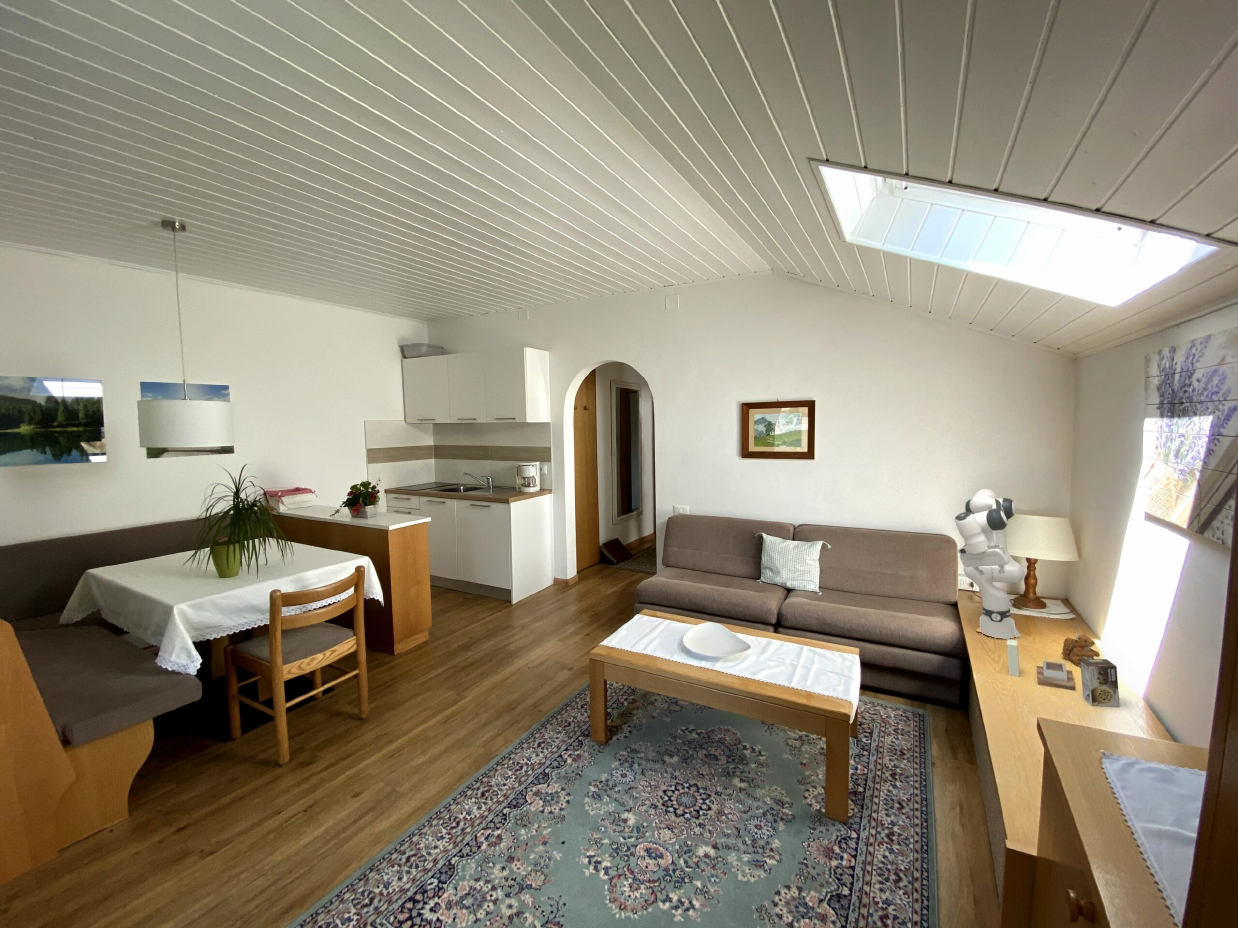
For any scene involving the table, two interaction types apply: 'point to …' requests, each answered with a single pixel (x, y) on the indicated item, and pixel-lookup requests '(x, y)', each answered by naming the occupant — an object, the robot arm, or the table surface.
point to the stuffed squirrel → (1079, 649)
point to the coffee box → (1099, 682)
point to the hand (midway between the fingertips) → (992, 574)
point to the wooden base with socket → (1055, 675)
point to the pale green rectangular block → (1013, 657)
